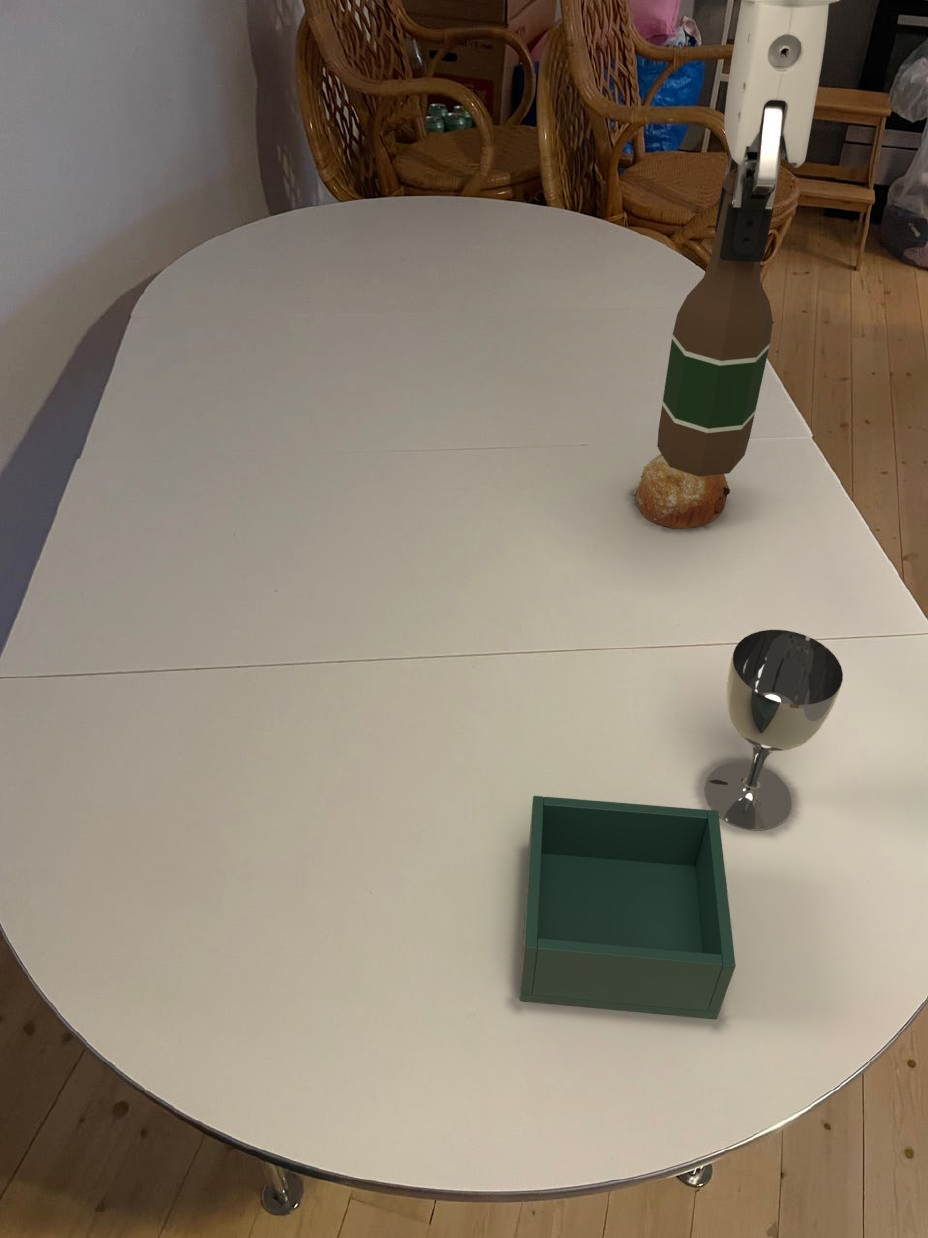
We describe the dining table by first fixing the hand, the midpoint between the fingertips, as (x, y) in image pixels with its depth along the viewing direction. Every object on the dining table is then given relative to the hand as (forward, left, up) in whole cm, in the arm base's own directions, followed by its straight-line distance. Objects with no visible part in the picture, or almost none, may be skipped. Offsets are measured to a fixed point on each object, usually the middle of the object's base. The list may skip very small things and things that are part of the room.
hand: (738, 244), depth 79 cm
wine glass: (-5, +23, -37) cm, 44 cm away
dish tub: (+6, +37, -37) cm, 52 cm away
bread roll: (-2, -18, -37) cm, 41 cm away
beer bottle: (0, 0, -19) cm, 19 cm away
